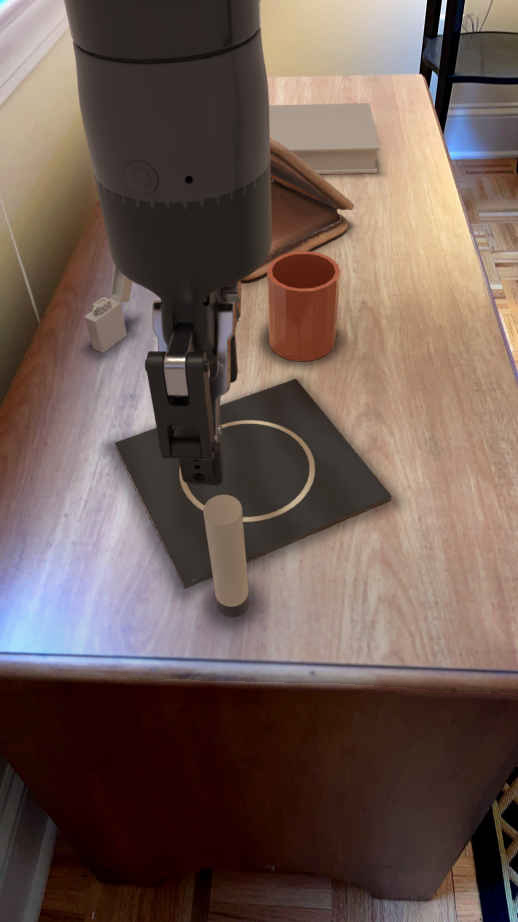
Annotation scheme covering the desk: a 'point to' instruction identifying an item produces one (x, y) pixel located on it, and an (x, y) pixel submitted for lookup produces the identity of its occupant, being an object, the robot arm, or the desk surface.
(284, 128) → the book
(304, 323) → the pen cup
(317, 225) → the case
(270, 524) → the black flat square pad
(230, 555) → the cylinder
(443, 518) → the desk surface
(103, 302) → the lighter
